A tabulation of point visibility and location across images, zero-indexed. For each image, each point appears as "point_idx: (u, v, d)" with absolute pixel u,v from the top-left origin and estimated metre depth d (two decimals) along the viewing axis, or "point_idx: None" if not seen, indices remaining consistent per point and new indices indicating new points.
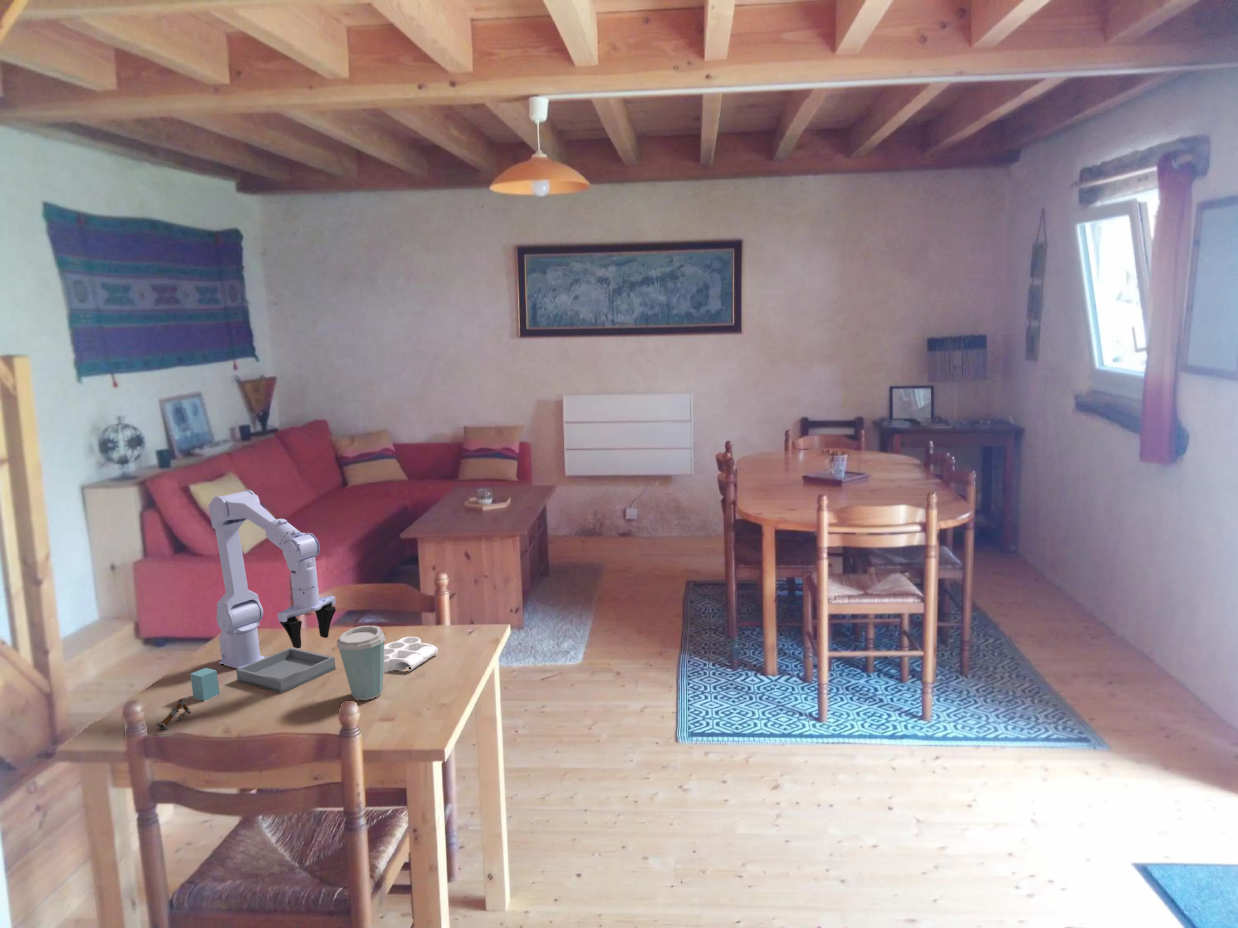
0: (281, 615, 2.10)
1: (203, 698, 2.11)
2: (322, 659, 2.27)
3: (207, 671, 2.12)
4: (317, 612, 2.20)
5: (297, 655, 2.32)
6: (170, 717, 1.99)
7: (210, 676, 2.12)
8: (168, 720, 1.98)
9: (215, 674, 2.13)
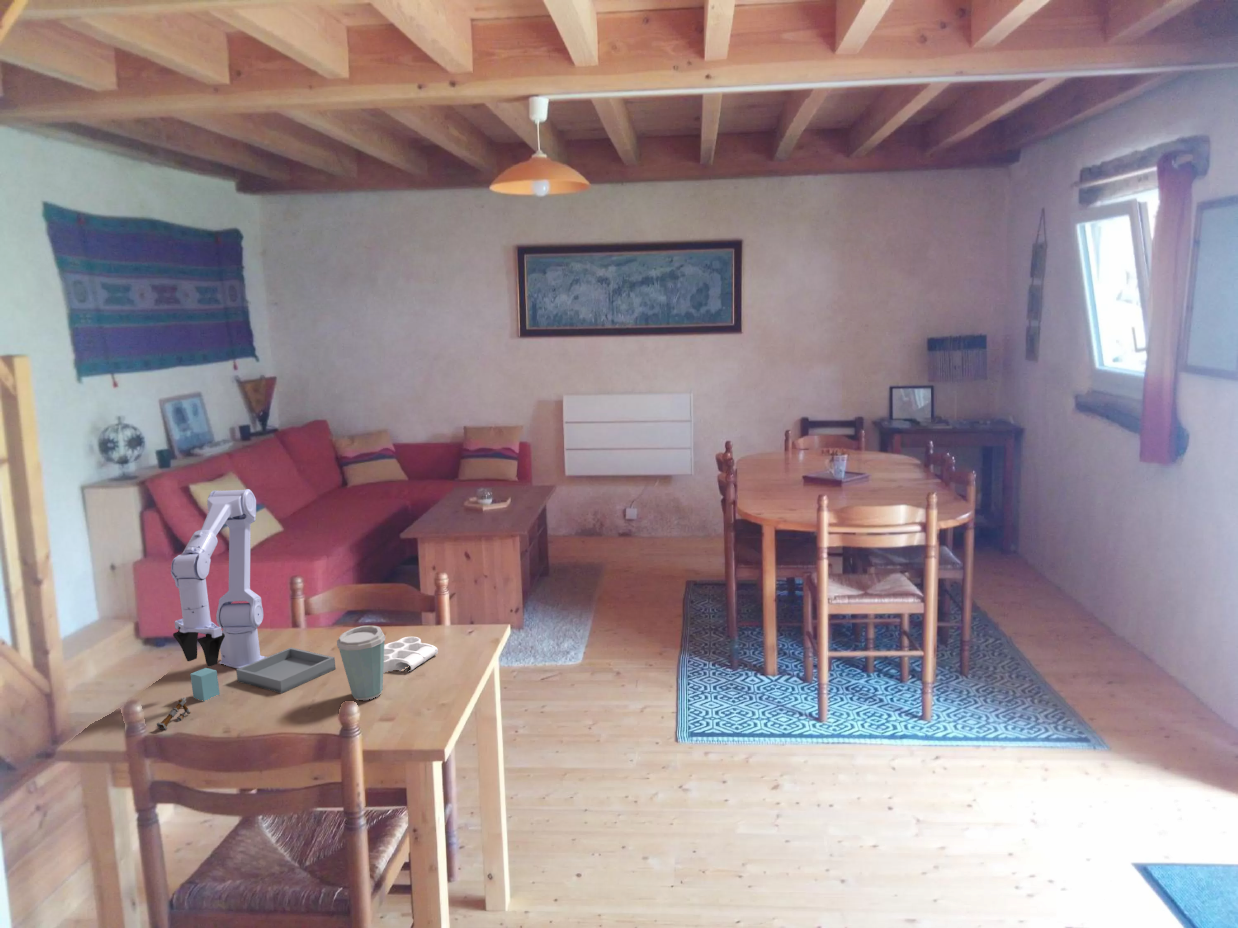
0: None
1: (203, 698, 2.11)
2: (322, 659, 2.27)
3: (207, 671, 2.12)
4: None
5: (297, 655, 2.32)
6: (170, 717, 1.99)
7: (210, 676, 2.12)
8: (168, 720, 1.98)
9: (215, 673, 2.13)
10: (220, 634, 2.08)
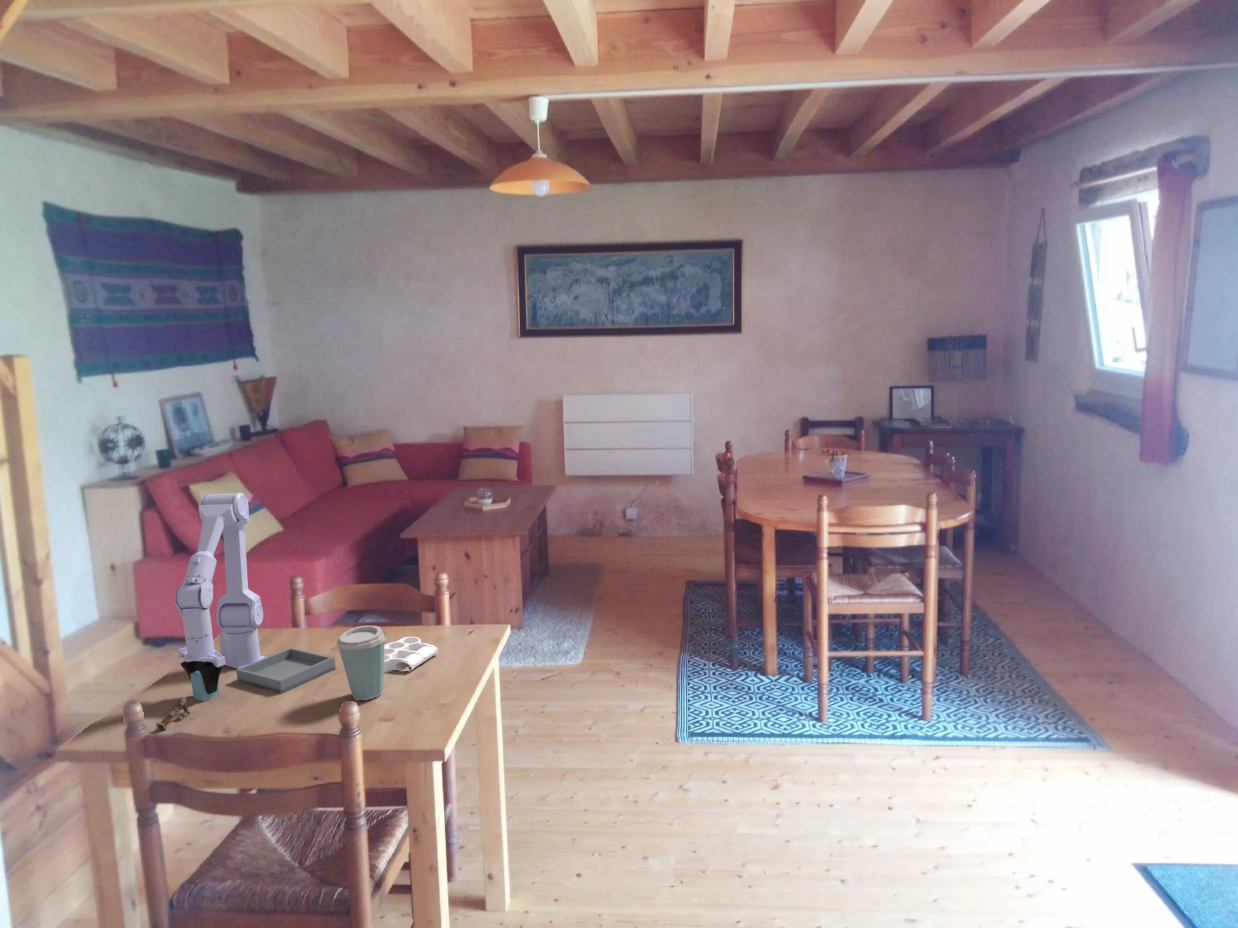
0: None
1: (203, 698, 2.11)
2: (322, 659, 2.27)
3: None
4: None
5: (297, 655, 2.32)
6: (169, 717, 1.98)
7: None
8: (167, 720, 1.98)
9: None
10: (224, 663, 2.09)
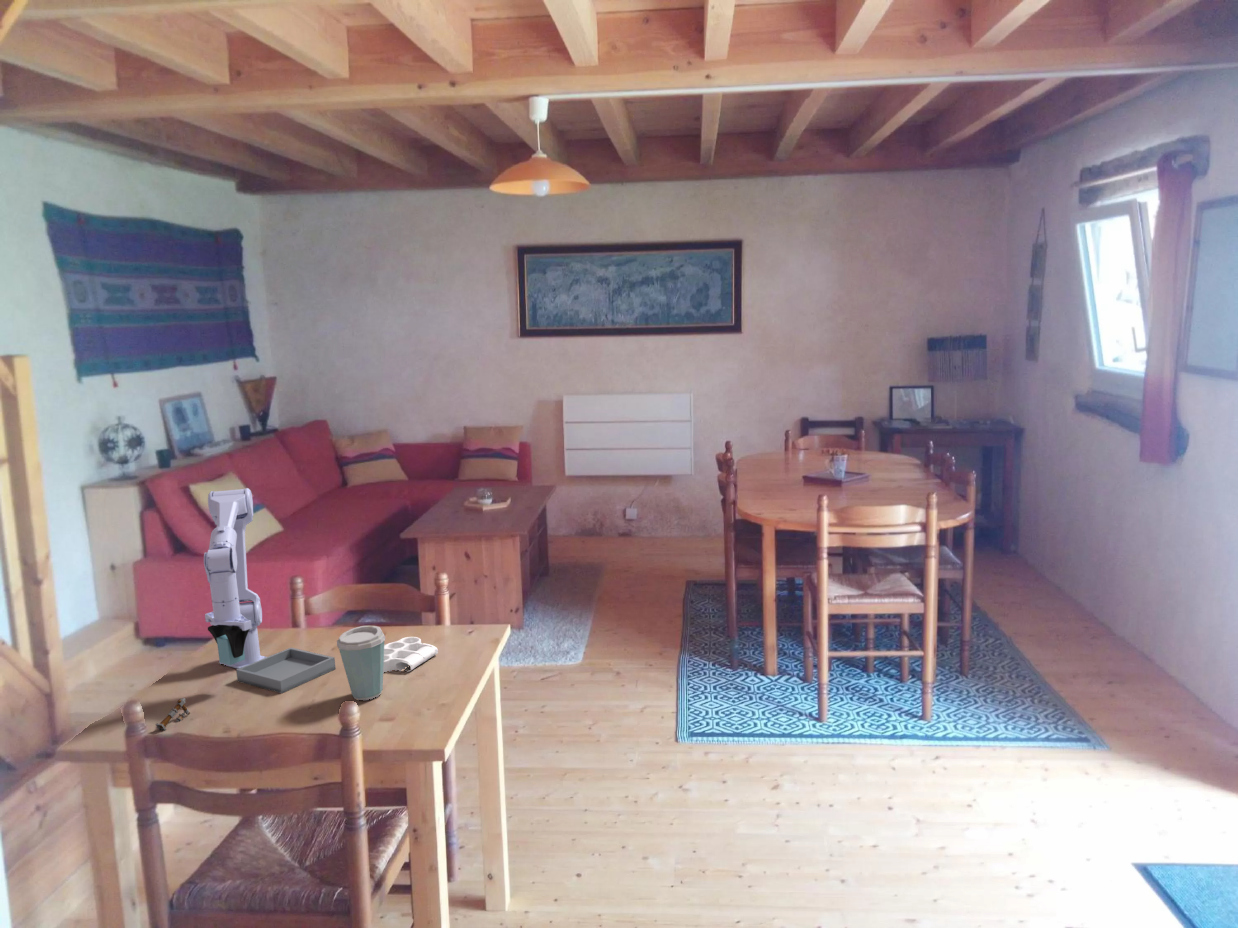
0: None
1: (229, 662, 2.13)
2: (322, 659, 2.27)
3: None
4: None
5: (297, 655, 2.32)
6: (169, 718, 1.98)
7: None
8: (167, 721, 1.98)
9: None
10: (250, 627, 2.11)
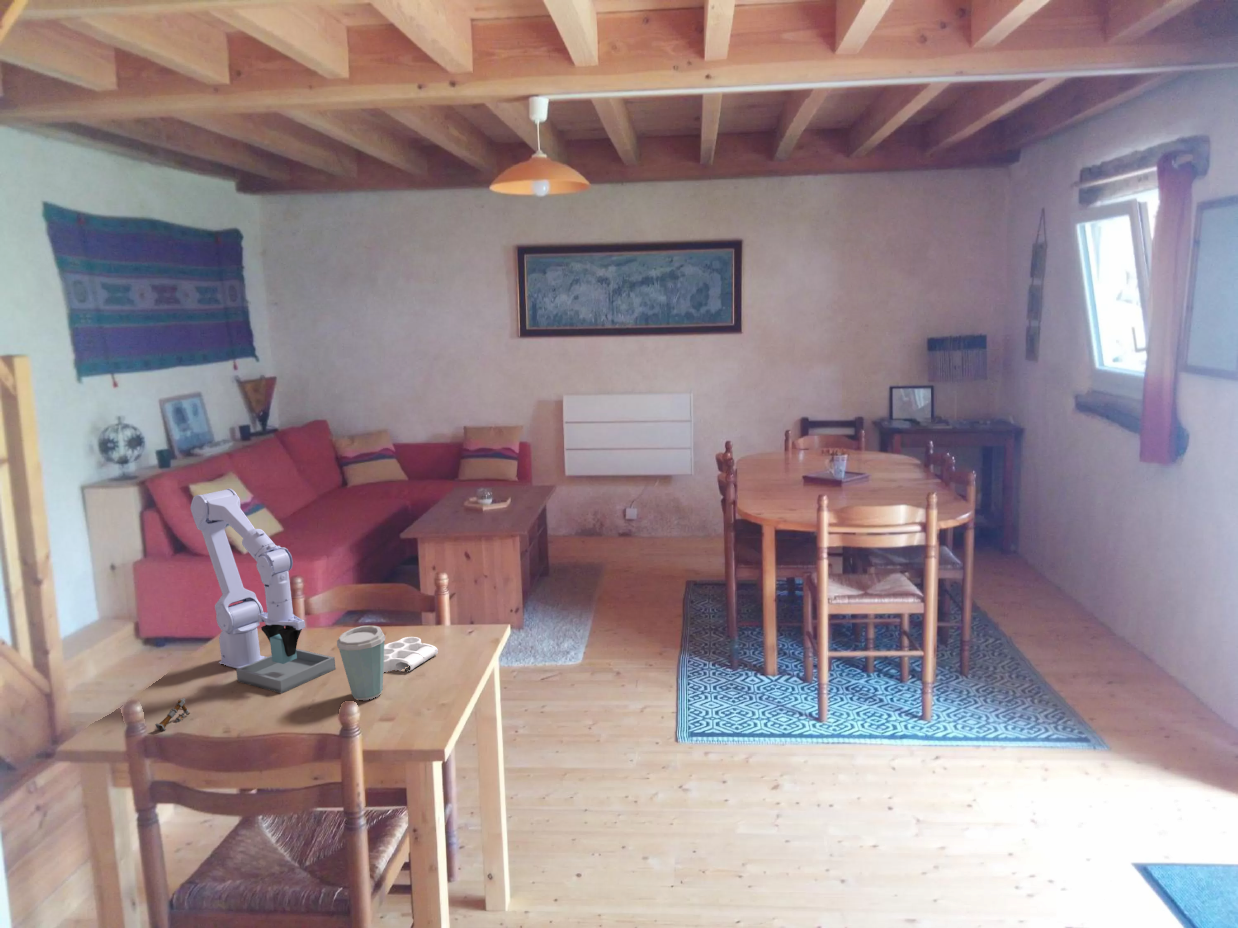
0: None
1: (282, 661, 2.21)
2: (322, 659, 2.27)
3: None
4: None
5: (297, 655, 2.32)
6: (169, 718, 1.98)
7: None
8: (167, 721, 1.98)
9: None
10: (303, 626, 2.19)
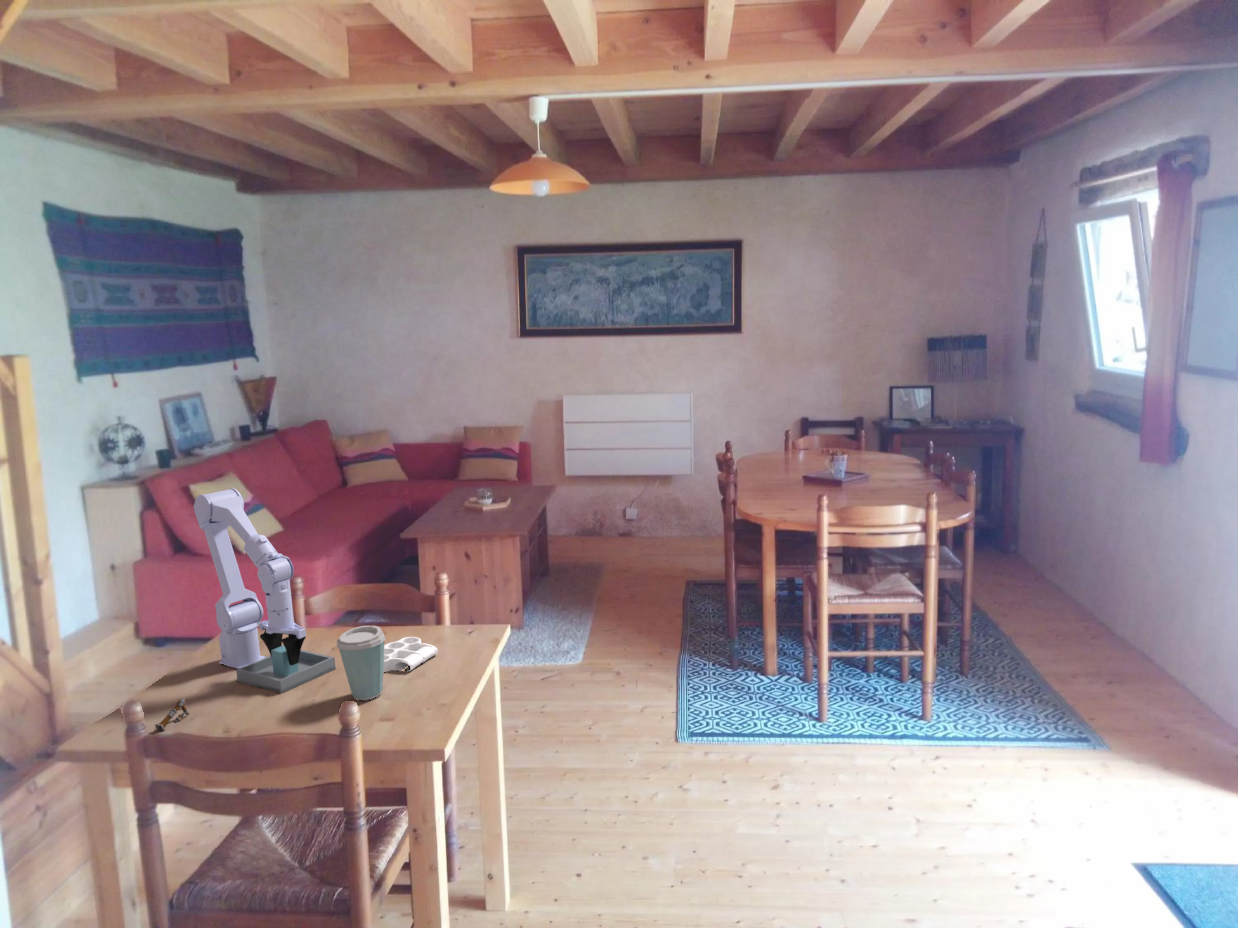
0: None
1: (283, 673, 2.21)
2: (322, 659, 2.27)
3: None
4: None
5: None
6: (168, 718, 1.98)
7: None
8: (166, 721, 1.97)
9: None
10: (304, 635, 2.19)
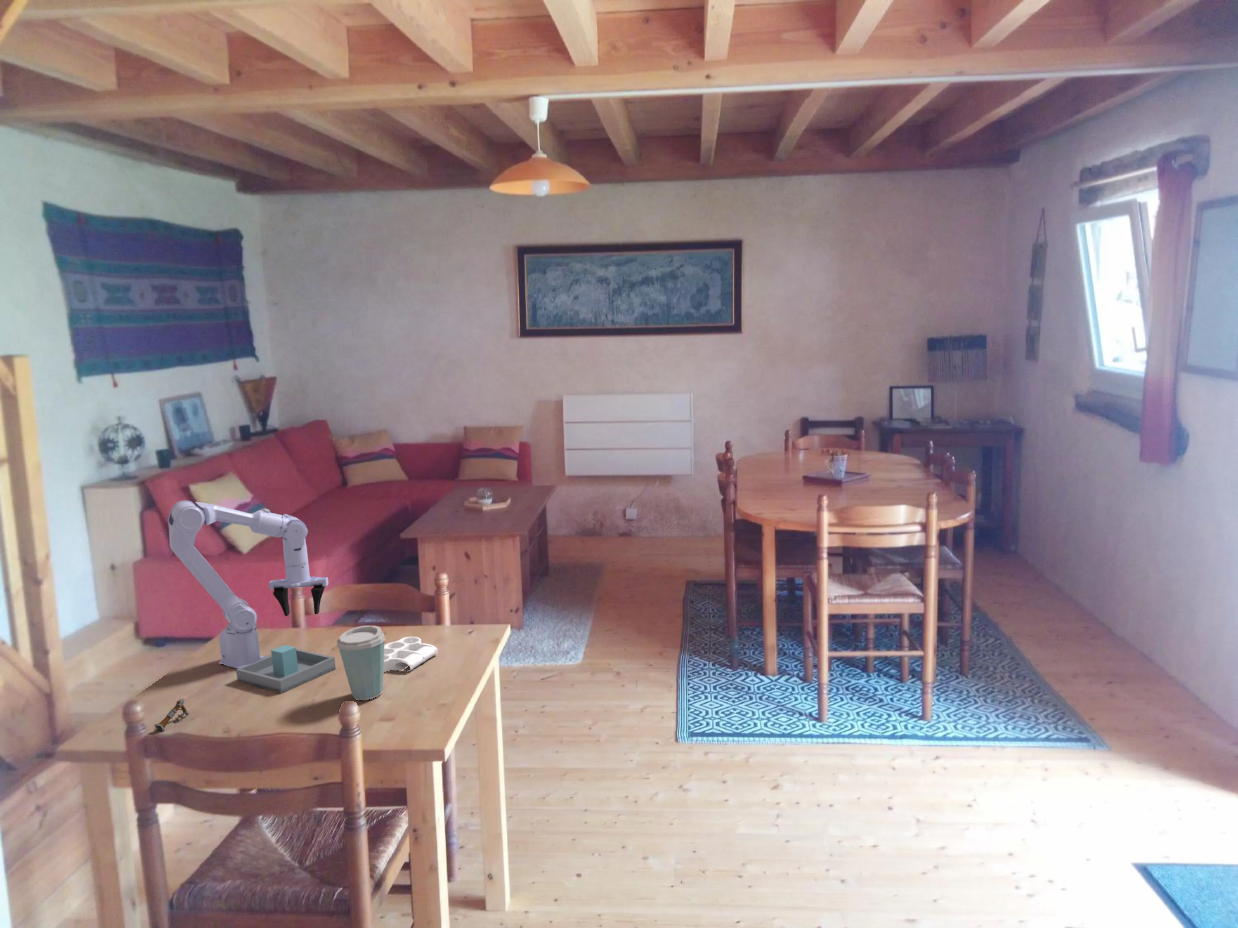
0: None
1: (283, 673, 2.21)
2: (322, 659, 2.27)
3: (287, 648, 2.23)
4: None
5: (297, 655, 2.32)
6: (168, 718, 1.98)
7: (290, 652, 2.22)
8: (166, 721, 1.97)
9: (295, 650, 2.23)
10: None
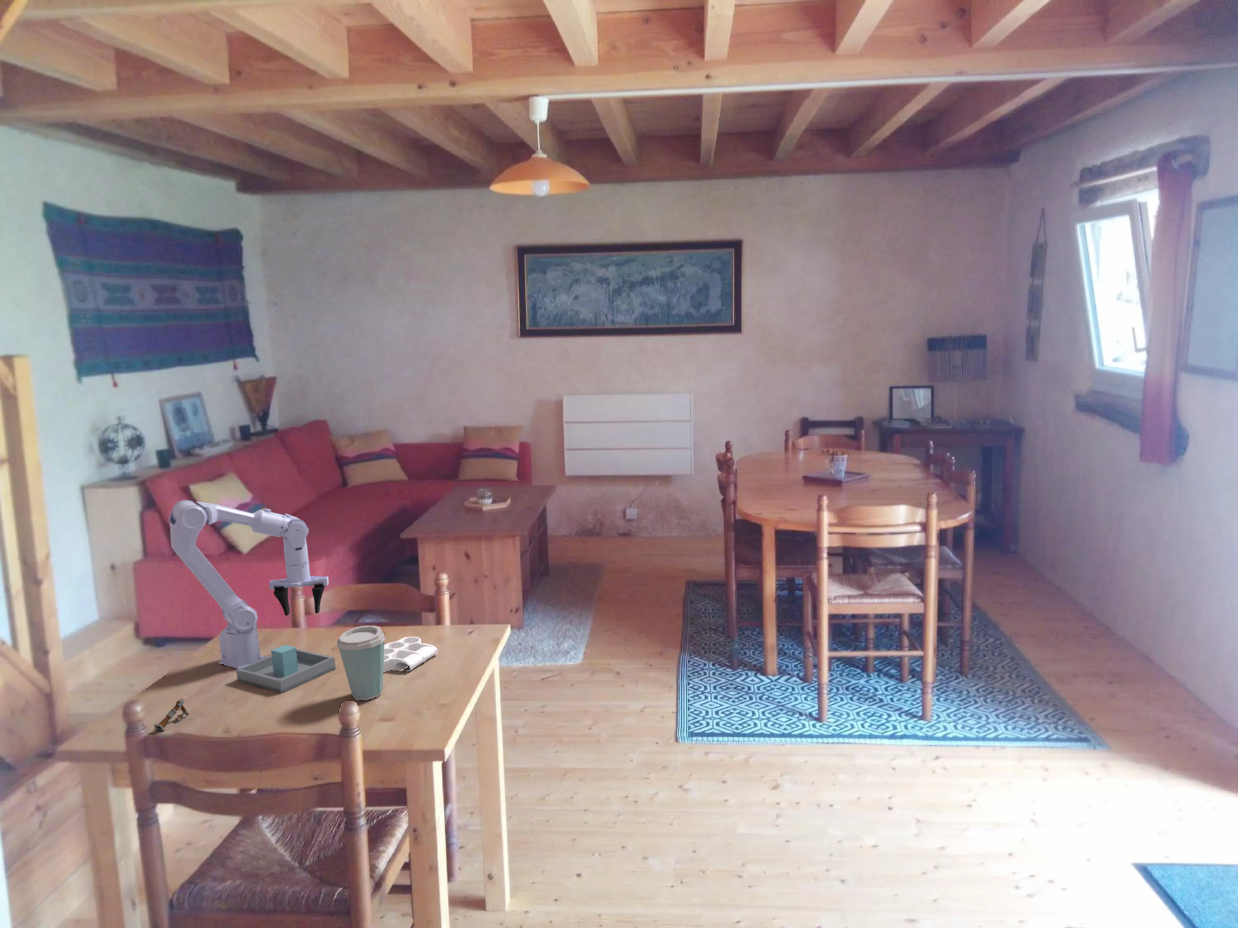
0: None
1: (283, 673, 2.21)
2: (322, 659, 2.27)
3: (287, 648, 2.23)
4: None
5: (297, 655, 2.32)
6: (168, 718, 1.98)
7: (290, 652, 2.22)
8: (165, 721, 1.97)
9: (295, 650, 2.23)
10: (328, 582, 2.41)
